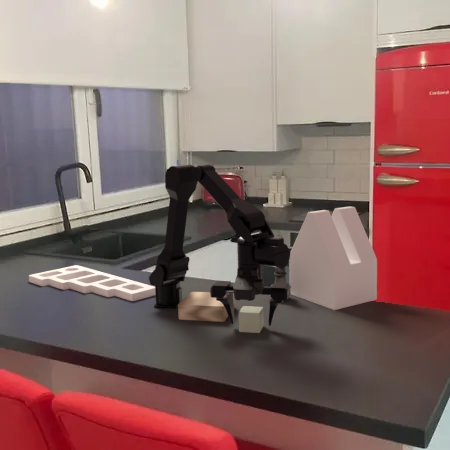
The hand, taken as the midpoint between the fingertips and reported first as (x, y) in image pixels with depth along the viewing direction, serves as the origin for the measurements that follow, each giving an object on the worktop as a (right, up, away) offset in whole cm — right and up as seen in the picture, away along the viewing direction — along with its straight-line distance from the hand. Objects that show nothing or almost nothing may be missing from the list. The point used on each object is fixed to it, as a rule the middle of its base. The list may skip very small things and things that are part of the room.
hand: (251, 324), depth 152 cm
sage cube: (0, -1, 0) cm, 1 cm away
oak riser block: (-11, +1, +13) cm, 17 cm away
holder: (-48, +4, +42) cm, 65 cm away
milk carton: (+24, +4, +25) cm, 35 cm away
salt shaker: (+9, +3, +24) cm, 26 cm away
